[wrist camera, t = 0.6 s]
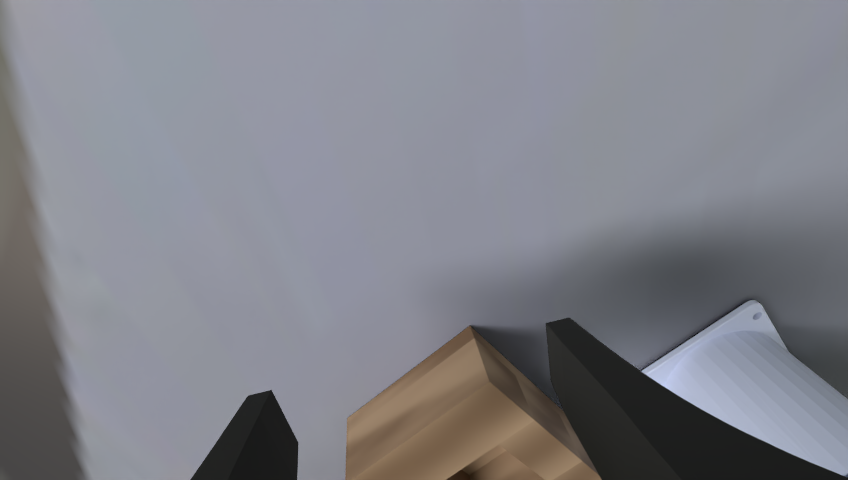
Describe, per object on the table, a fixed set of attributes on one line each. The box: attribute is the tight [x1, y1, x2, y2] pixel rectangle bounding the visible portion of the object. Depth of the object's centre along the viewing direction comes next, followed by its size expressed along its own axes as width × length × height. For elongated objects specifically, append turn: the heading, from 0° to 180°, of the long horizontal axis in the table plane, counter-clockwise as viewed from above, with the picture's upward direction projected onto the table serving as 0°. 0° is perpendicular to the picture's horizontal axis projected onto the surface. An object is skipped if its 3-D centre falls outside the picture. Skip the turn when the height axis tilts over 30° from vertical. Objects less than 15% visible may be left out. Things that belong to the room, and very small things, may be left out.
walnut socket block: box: [345, 326, 602, 480], centre depth 25 cm, size 12×9×4 cm
